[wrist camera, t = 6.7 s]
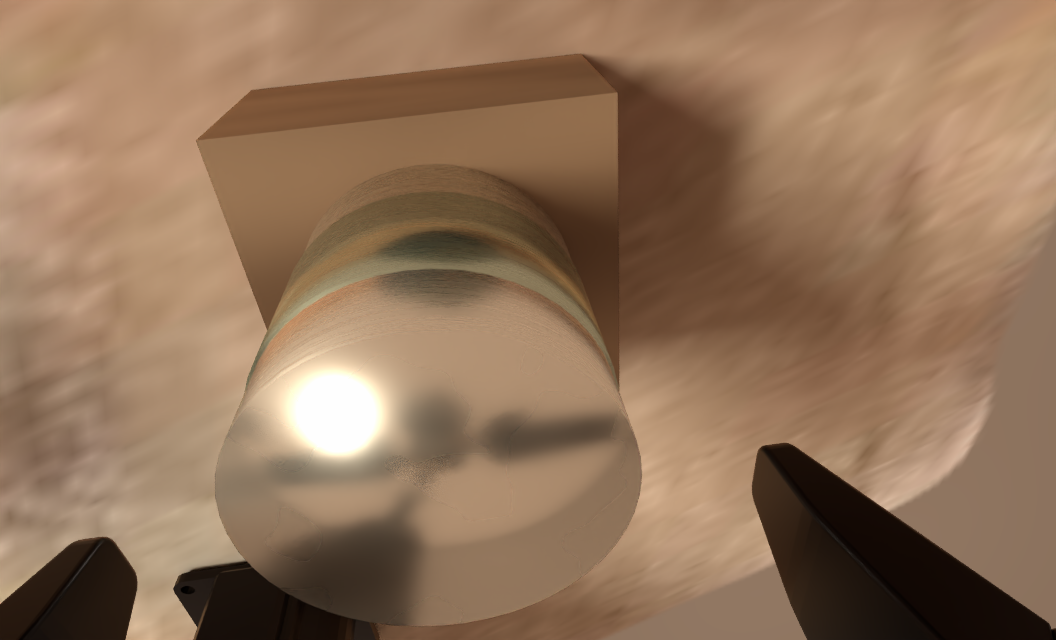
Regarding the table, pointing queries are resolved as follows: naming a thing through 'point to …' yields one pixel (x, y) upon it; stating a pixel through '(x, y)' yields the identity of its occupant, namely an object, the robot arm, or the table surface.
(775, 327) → the table surface
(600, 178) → the block
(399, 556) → the tin
